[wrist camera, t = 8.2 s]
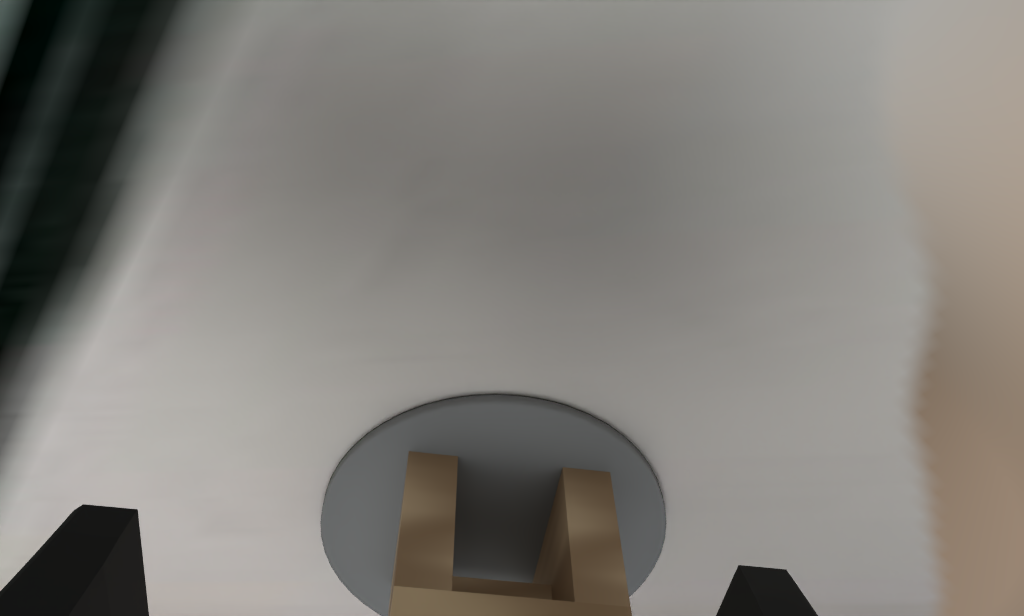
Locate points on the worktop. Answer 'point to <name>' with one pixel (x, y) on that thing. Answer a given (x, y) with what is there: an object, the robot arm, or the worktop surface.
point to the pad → (485, 490)
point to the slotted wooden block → (505, 604)
